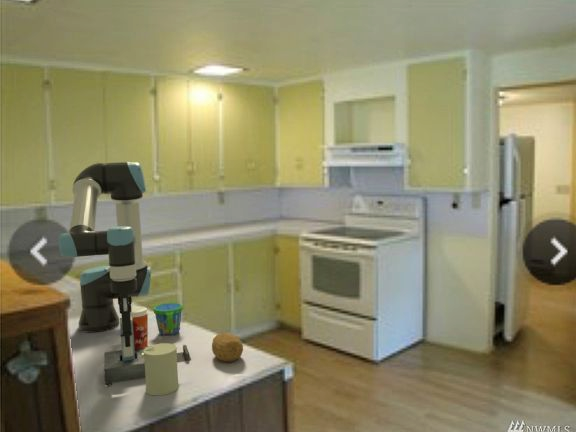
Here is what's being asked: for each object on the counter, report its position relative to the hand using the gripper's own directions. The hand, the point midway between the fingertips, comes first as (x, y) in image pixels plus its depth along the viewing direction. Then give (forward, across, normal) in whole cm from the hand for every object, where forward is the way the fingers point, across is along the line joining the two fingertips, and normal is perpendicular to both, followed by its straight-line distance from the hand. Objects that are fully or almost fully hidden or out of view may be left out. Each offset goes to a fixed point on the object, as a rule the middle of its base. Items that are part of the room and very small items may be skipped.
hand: (128, 353), depth 155 cm
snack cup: (+6, -32, +15) cm, 36 cm away
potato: (+6, +2, +30) cm, 31 cm away
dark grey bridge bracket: (+6, -5, +15) cm, 17 cm away
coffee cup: (+6, -16, +3) cm, 18 cm away
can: (+6, +15, +8) cm, 18 cm away
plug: (+3, 0, 0) cm, 3 cm away
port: (+6, 0, 0) cm, 6 cm away
